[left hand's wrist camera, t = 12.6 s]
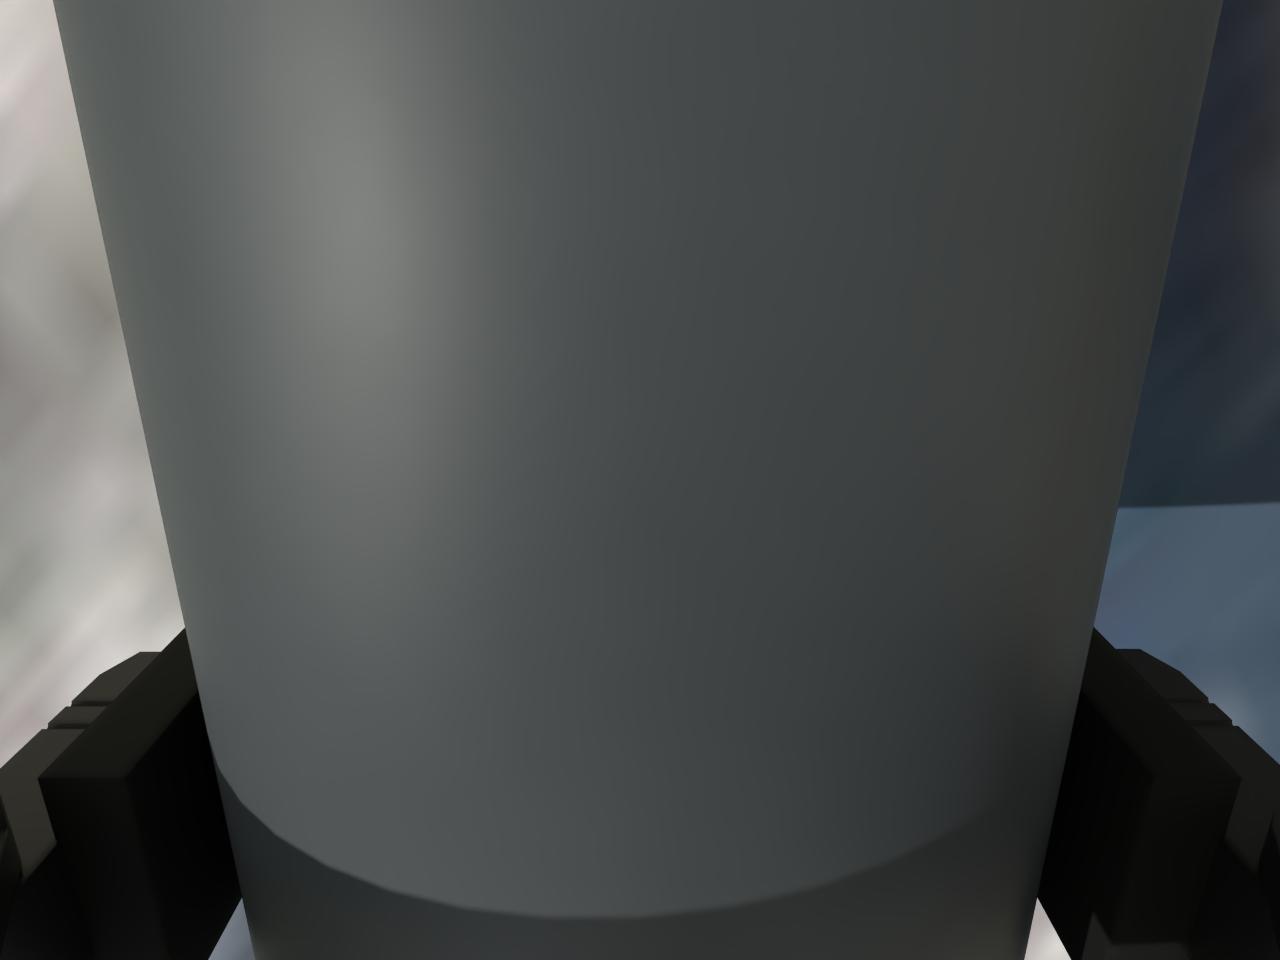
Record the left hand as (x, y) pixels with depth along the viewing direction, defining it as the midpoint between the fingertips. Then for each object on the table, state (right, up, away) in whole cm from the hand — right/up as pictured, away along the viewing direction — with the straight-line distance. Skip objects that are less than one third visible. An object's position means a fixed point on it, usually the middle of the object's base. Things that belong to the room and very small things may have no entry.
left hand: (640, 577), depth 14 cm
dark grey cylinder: (0, +8, -2) cm, 8 cm away
